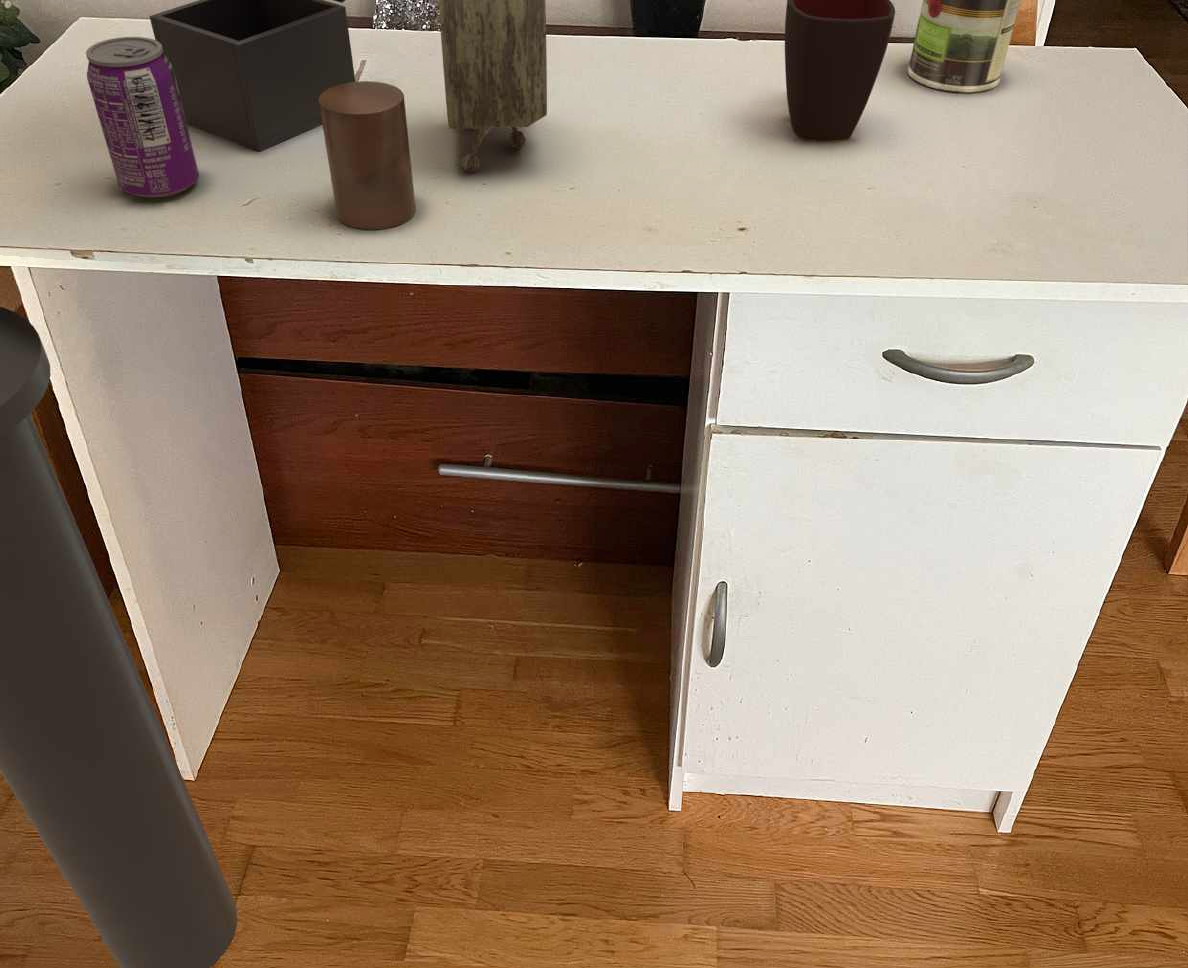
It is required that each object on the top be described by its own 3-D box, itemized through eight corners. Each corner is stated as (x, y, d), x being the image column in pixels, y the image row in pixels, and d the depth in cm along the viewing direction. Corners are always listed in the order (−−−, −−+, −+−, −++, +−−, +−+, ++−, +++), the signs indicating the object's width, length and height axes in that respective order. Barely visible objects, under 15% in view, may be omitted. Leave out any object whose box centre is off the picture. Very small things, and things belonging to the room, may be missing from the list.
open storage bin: (259, 151, 108) (238, 45, 101) (174, 119, 113) (149, 15, 106) (359, 108, 116) (345, 6, 109) (275, 79, 121) (257, -20, 114)
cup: (780, 151, 110) (798, 20, 101) (759, 96, 120) (773, -27, 111) (880, 150, 110) (905, 20, 102) (850, 96, 120) (871, -27, 111)
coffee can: (947, 99, 120) (981, -47, 110) (888, 67, 126) (915, -74, 116) (1021, 84, 123) (1060, -60, 113) (959, 53, 129) (991, -85, 119)
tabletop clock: (450, 119, 114) (428, -172, 96) (539, 117, 115) (533, -173, 97) (452, 182, 104) (427, -131, 86) (549, 179, 105) (544, -132, 87)
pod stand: (377, 237, 96) (361, 120, 89) (320, 214, 99) (300, 99, 92) (432, 208, 100) (421, 94, 93) (375, 186, 103) (360, 74, 96)
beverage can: (214, 174, 104) (182, 38, 96) (178, 207, 100) (142, 68, 91) (144, 166, 105) (106, 31, 97) (106, 199, 100) (63, 60, 92)
